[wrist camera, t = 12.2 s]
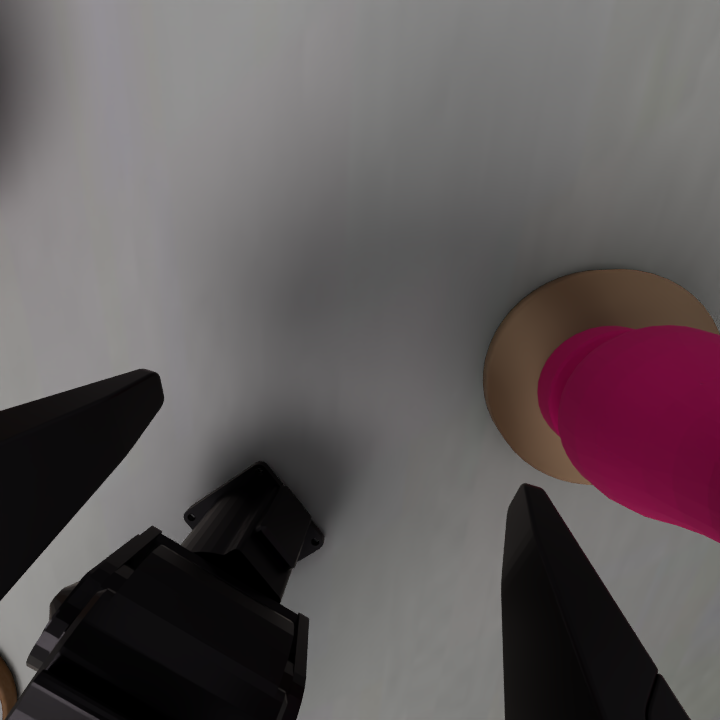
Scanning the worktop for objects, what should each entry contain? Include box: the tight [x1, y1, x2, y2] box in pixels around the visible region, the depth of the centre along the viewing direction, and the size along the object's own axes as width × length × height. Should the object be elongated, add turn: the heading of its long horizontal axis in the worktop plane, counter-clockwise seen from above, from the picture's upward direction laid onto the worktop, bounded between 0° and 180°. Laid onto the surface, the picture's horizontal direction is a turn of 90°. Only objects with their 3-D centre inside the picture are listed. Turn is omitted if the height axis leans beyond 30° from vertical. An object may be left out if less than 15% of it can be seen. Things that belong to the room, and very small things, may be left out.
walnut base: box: [483, 269, 720, 485], centre depth 20 cm, size 11×11×2 cm
